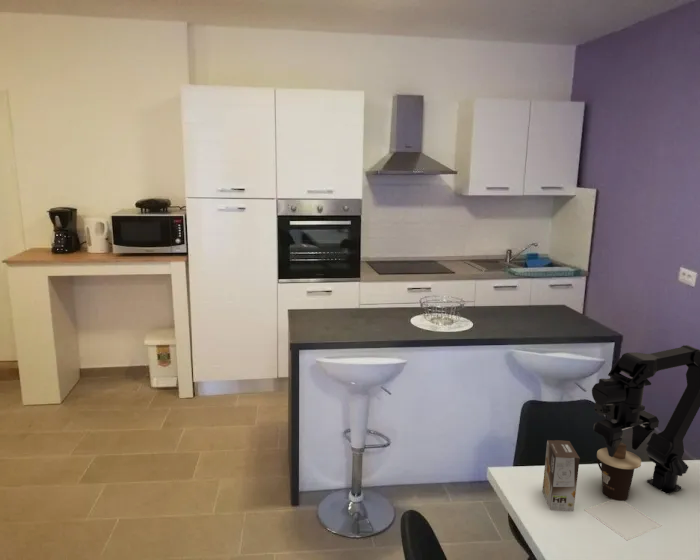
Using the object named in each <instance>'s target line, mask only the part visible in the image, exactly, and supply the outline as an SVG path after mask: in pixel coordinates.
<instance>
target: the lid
mask: <svg viewBox="0 0 700 560" xmlns="http://www.w3.org/2000/svg"><path fill="white" fill-rule="evenodd" d="M597 458H598V459H599V462H600V463H601V462H603V463H605V464H607V465H609V466H612V467H616V468H621V469H634V470H635V469H638V468H641V466H642V459H641V458H640V456H638V455H637V454H635V453H634V452H631V451H630V450H629V451H628V450H627V444H625V443H624V442H622V441H621V442H620V444H619V446H618V449H617V451H616V453H615V454H614V456H613V457H611V456H609V454H608V450H607V447H602V448H600V449H598V450H597V452H596V459H597Z"/></svg>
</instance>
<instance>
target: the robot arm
mask: <svg viewBox="0 0 700 560" xmlns="http://www.w3.org/2000/svg"><path fill="white" fill-rule="evenodd" d="M682 366H685V367H687V369H686V372H685V379H686V387H685V388H684V391H683V392H682V395H681V396H680V398H679V400H678V402H677V404H676V406H675V409H674V410H673V412H672V414H671V416H670V418H669V420H668V422H667V424H665V425H666V426H665V427H664V428H663V430H661V431H660V432H658V433H656V432H654V431H655V430H656V429H657V428H659V423H660V420H659V419H658V417H657V416H656V415H655V414H654V415H653V414H652V413H650V412H649V411H646V410H645V408H646V406H645V405H643V398H644V397H643V396H644V391H645V390H644V389H645V386H651V385H652V382H651V381H650V380H649V379H650V378H652V377H654V376H655V375H656V373H657V372H659V371H663V370H669V369H672V368H678V367H682ZM622 373H623V374H625V375H623V374H622ZM626 375H627V376H626ZM607 376H608V378H599V380H598V382H597V383H594V385H593V387H592V388H591V396H592V398H593V400H594V402H595V403H594V407H593V410H594V412H595V414H598V416H609V419H611V420H613V421H615V422H612V421H610V420H608V419H603V420H599V421H597V422H594V423H593V432H595V433H597V434H598V435H600V436H601V437H602V438H603V439H604V443H605V445H606V448H607V450H608V454H609V456H611V457H613V456H614V454H615V453H616V451H617V449H618V446H619V444H620V442H621V443H622V440H623V438H622V436H623V431H624V430H627V429H632V437H631V438H632V439H631V448H632V450H635V451H637V449H639V447H640V446H641V445H642V444H643V442H644V441H645V440H646V439H647V438H648V437H649V436H650V438H649V440H648V442H647V443H646V448H645V450H646V454H647V455H648V460H649V461H651V462H652V463H654V464H655V465H654V469H653V473H652V478H650V479H647V481H646V483H647V484H648V485H650V486H653V487H654V488H655V489H657V490H659V491H661V492H662V493H664V494H667V495H670V494H672V493H675V492H677V491H680V490H682V486H680V485H679V484H677V483H678V477H683V475H684V474H686V473H687V472H688V469H689V466H688V464H687V463H686V461H684V460H683V459H682V458H683V456H684V453H685V449H684V439H685V436H686V434H687V433H688V431H689V428H690V427H691V425H692V423H693V421H694V419H695V417H696V416H697V413H698V411H699V410H700V349H699V348H696V347H694V346H691V345H689V344H687V345H685V344H683V345H681V346H680V347H676V348H672V349H671V348H670V349H666V350H661V351H658V352H657V351H655V352H653V353H652V352H651V353H643V352H625V353H623V354H622V355H621V356H620V358H619V359H618V361H617V362H616V363H615V364H614V366H613V367H612V368H611V370H610V371H609V373H608V374H607ZM628 376H629V377H628ZM652 432H653V433H652ZM651 433H652V434H651ZM650 434H651V435H650Z"/></svg>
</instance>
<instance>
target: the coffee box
mask: <svg viewBox="0 0 700 560" xmlns="http://www.w3.org/2000/svg"><path fill="white" fill-rule="evenodd" d="M580 459H581V458H580V456H579V454H578V453H577V451H576V450H575V448H574V446H573V444H572V443H571V441H570V440H560V439H559V440H558V439H554V440H550V439H547V441H546V450H545V459H544V460H545V461H544V471H543V480H542V494H543V497H544V498H545V501H546V503H547V505H548V508H549V510H550V511H559V512H574V510H575V509H574V508H575V502H576V494H577V485H578V478H579V477H578V476H579V468H580V467H579V466H580Z"/></svg>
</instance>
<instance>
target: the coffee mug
mask: <svg viewBox="0 0 700 560" xmlns="http://www.w3.org/2000/svg"><path fill="white" fill-rule="evenodd" d="M596 461H597V466H598V467H599V469H600V472H601V483H602V484H601V486H602V488H601V489H602V493H603V495H604V496H605V497H607V498H608V499H609V500H612V499H613V500H618V501H624V502H625V501H626V500H628V498H629V493H630V490H631V486H632V482H633V477H634V473H635V469H621V468H616V467H612V466H609V465H607V464H605V463H603V462H601V461H600V460H599V459H598V458H597V457H596Z"/></svg>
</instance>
